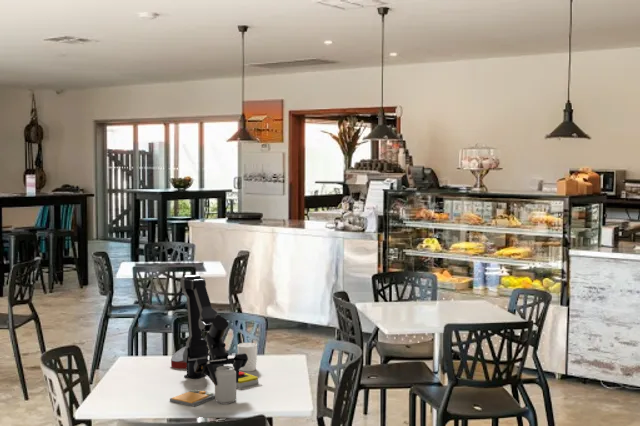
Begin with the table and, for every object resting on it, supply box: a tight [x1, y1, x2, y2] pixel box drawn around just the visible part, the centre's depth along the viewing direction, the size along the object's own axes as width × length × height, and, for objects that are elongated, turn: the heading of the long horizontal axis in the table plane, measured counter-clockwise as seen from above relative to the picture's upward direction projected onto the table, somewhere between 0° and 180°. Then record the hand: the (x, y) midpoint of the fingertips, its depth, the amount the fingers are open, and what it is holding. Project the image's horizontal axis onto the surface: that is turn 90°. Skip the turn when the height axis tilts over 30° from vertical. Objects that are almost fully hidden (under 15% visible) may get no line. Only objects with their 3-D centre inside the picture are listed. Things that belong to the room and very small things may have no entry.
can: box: [214, 365, 237, 405], centre depth 288 cm, size 8×8×12 cm
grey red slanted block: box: [170, 345, 187, 370], centre depth 337 cm, size 11×10×10 cm
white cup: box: [237, 342, 258, 372], centre depth 331 cm, size 8×8×10 cm
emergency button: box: [236, 371, 263, 391], centre depth 311 cm, size 9×4×15 cm
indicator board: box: [169, 389, 215, 407], centre depth 291 cm, size 11×13×2 cm
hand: (226, 383), depth 287 cm, fingers closed on can, 7 cm apart
